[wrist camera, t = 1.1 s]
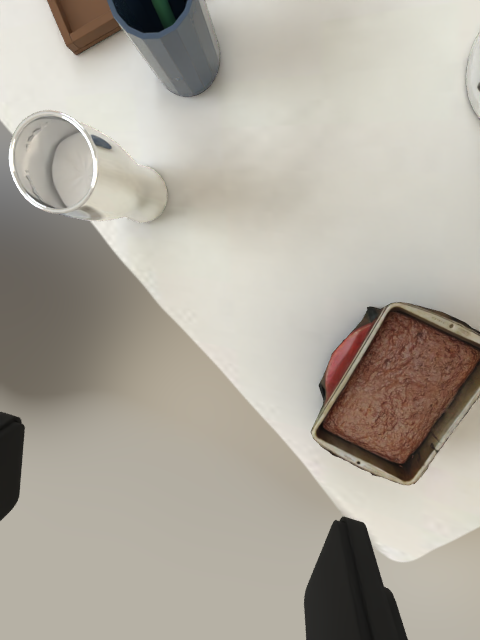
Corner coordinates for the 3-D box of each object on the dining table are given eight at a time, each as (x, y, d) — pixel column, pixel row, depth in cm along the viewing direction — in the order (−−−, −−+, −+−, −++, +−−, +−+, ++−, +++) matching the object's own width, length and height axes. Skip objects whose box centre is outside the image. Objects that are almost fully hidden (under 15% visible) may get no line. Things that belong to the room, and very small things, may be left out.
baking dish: (293, 385, 42) (295, 442, 33) (381, 267, 35) (415, 299, 26) (386, 434, 43) (414, 502, 34) (490, 330, 36) (560, 382, 27)
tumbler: (204, 5, 32) (172, -98, 22) (230, 78, 33) (209, 10, 23) (144, 39, 33) (89, -44, 23) (170, 108, 34) (128, 55, 25)
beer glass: (164, 155, 35) (85, 94, 21) (177, 220, 37) (111, 206, 22) (106, 168, 36) (-9, 119, 22) (120, 231, 38) (23, 224, 23)
